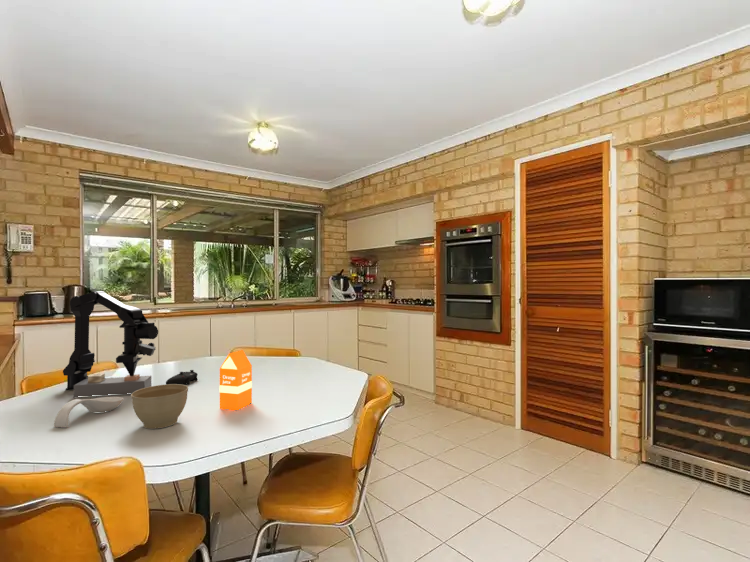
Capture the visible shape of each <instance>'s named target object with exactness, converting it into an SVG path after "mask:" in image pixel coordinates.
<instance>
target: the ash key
mask: <svg viewBox="0 0 750 562" xmlns="http://www.w3.org/2000/svg"><path fill="white" fill-rule="evenodd" d="M87 376H88V383H97V382H102V381H104V380H105V378H106V374H105V373H92V374H89V375H87Z"/></svg>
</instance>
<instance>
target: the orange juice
mask: <svg viewBox="0 0 750 562" xmlns="http://www.w3.org/2000/svg"><path fill="white" fill-rule="evenodd" d="M252 367H253V366H252V364H251V362H250V360H249V358H248V357H247V354H246V353H245V351H244V349H241V350H237V351H234V352H230V353H228V354H227V356H226V358H225V359H224V361H223V363H222V364H221V366H220V367H219V410H224V409H229V410H228V411H234V410H239V409H241V408H242V409H244V408H246V407H248V406H250V405H251V404H250V403H252V404H253V398H252V397H253V392H252V391H253V377H252V376H253V371H252V370H253V369H252ZM249 404H250V405H249ZM247 405H248V406H247ZM245 406H246V407H245ZM243 407H244V408H243ZM242 409H241V410H242ZM239 411H240V410H239Z"/></svg>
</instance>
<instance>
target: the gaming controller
mask: <svg viewBox="0 0 750 562" xmlns="http://www.w3.org/2000/svg"><path fill="white" fill-rule="evenodd" d="M193 380H195V381H198V373H197V372H195V370H194V369H190V370H189V371H179V373H177V374H175V375H173V376H171V377H169V378H168V379H167V380H166V381H165V385H167V384H180V385H186V386H188V385H190V382H191V381H193Z"/></svg>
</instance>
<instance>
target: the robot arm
mask: <svg viewBox="0 0 750 562" xmlns="http://www.w3.org/2000/svg"><path fill="white" fill-rule="evenodd" d="M97 304H99V305H102V306H103V307H104V308H106V309H108V310H110V311H111V312H114V313H115V314H116V315H117V318H118V319H119V320H121V321H122V322H123V323H121V324H120V325H119V328H120V329H123V341H122V343H121V345H122V346H123V351H122V353H121V354H119V355H118V356H117V357H116V358H115V364H123V366H124V367H125V370H126V371H127V373H128V375H130V376H134V375H135V372H136V368H137V366H138V363H139V361H141V360H142V359H143V356H147V357H148V356H149V357H151V356H153V355H154V352H155V350H156V346H155V343H154V342H149V343H148V344H146V343H143V340H155V339H157V337H158V334H159V329H158V327H157V325H156V324H155V322H149V321H148V319H147V318H146V316H145V314H143V310H142V309H140V308H139V307H136V306H134V305H133V306H132V305H127V304H125V303H123V302H122V301H119V300H118V299H116V298H115V297H113V296H111V295H109V294H107V293H106V292H105V291H103V290H98V291H96V290H95V291H92V292H89V293H86V294H82V295H74V296H73V297H71V298H70V301H69V307H70V311H71V313H72V314H73V316H74V345H73V346H74V349H73V352H72V353H71V354H70V356H69V360H68V364H67V365H66V366H65V368H64V369H63V370H62V374H63V376H64V377H65V376H66V377H67V379H66V381H67V382H66V383H67V386H66V388H65V389H73V390H74V385H75V384H77V383H79V382H81V381H83V380H85V379H88V376H89V375H88V373H90V372H91V371H92V368H93V366H94V363H95V362H96V360H95V356H96V355H95V353H94V352H92V351H91V350H90V346H89V345H90V344H89V343H90V317H91V314H92V313H93V311H94V309H95V305H97ZM139 355H143V356H142V357H141V356H139Z"/></svg>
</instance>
